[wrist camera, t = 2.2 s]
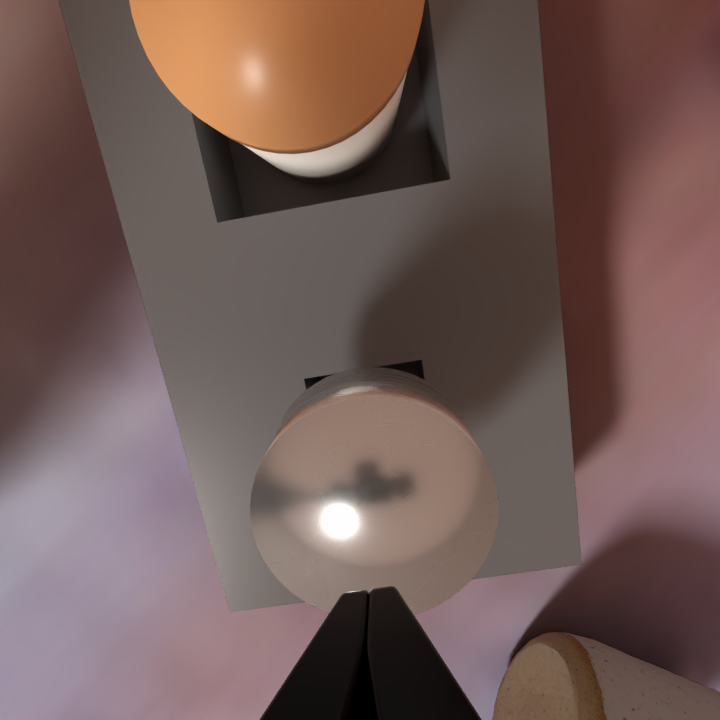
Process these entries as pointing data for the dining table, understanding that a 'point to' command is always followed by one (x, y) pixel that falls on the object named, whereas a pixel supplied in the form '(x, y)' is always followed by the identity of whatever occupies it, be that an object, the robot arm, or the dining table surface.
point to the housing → (352, 271)
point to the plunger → (373, 492)
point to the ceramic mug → (595, 685)
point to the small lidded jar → (288, 74)
